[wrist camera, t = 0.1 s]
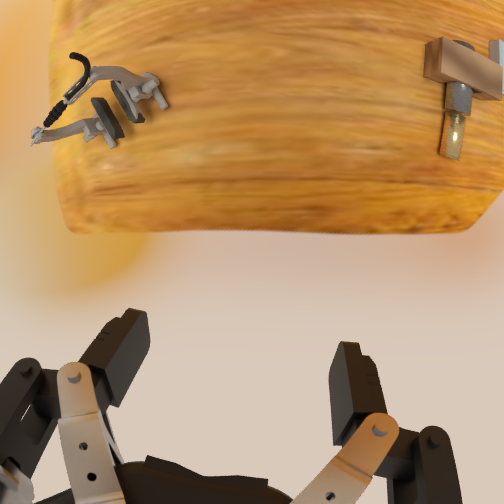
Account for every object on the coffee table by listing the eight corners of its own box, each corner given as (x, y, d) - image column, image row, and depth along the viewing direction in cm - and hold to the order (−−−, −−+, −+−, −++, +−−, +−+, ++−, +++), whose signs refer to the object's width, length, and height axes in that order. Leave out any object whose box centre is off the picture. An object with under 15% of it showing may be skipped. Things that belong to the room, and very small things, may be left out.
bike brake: (160, 62, 33) (64, 34, 15) (184, 101, 35) (95, 94, 17) (90, 119, 37) (-15, 138, 19) (110, 155, 39) (8, 192, 21)
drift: (441, 111, 31) (452, 112, 29) (459, 118, 31) (469, 119, 28) (435, 153, 34) (445, 156, 31) (452, 158, 34) (463, 162, 31)
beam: (425, 44, 28) (442, 36, 23) (482, 69, 27) (502, 66, 22) (423, 76, 30) (441, 72, 25) (480, 100, 29) (501, 100, 24)
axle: (444, 43, 27) (456, 38, 24) (465, 52, 27) (479, 49, 23) (439, 107, 31) (452, 107, 28) (461, 115, 31) (475, 116, 28)
